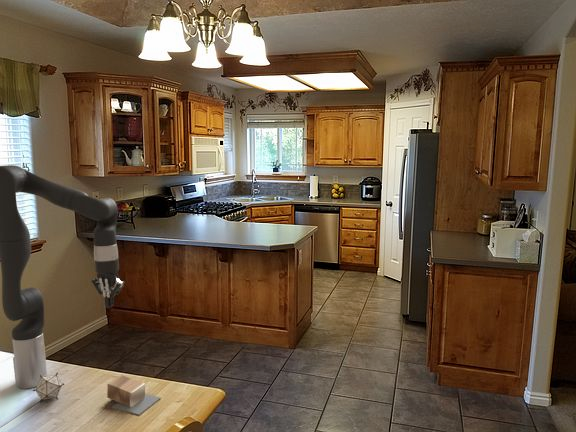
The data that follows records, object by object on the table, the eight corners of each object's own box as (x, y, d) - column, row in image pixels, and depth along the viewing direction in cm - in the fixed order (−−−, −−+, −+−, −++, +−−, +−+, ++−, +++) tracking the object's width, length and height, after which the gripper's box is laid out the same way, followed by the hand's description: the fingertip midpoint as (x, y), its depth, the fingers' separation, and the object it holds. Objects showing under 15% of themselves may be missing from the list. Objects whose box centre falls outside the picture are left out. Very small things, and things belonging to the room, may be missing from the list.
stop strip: (105, 408, 140) (105, 405, 140) (133, 389, 151) (132, 386, 151) (109, 409, 139) (109, 406, 139) (136, 390, 150) (136, 387, 150)
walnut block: (107, 383, 142) (131, 393, 138) (121, 374, 148) (145, 383, 144) (107, 397, 143) (131, 407, 139) (121, 388, 149) (144, 397, 145)
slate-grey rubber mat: (111, 407, 140) (111, 406, 140) (134, 391, 149) (134, 390, 149) (139, 415, 136) (139, 414, 136) (160, 398, 145) (160, 397, 145)
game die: (52, 411, 144) (47, 398, 138) (30, 400, 146) (23, 386, 139) (72, 387, 151) (67, 373, 144) (50, 376, 152) (45, 362, 145)
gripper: (82, 258, 149) (86, 307, 152) (112, 262, 144) (116, 313, 146) (100, 253, 156) (103, 301, 158) (129, 256, 151) (132, 306, 153)
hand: (109, 306), depth 152 cm, fingers closed
